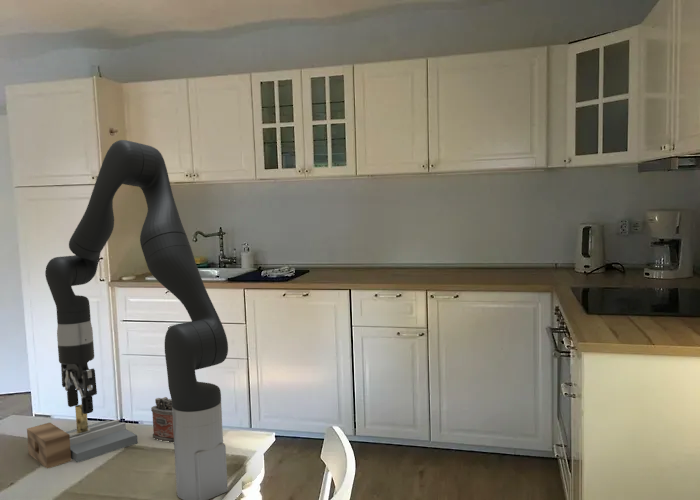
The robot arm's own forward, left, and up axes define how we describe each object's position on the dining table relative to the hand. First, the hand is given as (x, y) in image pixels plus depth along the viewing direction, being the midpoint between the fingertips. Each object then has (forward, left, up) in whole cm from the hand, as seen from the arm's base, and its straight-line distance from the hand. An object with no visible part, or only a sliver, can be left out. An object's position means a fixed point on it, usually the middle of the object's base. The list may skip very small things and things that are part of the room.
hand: (80, 409), depth 136 cm
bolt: (0, +3, -7) cm, 7 cm away
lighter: (-11, -16, -9) cm, 21 cm away
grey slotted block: (0, -3, -9) cm, 10 cm away
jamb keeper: (0, +7, -9) cm, 12 cm away
